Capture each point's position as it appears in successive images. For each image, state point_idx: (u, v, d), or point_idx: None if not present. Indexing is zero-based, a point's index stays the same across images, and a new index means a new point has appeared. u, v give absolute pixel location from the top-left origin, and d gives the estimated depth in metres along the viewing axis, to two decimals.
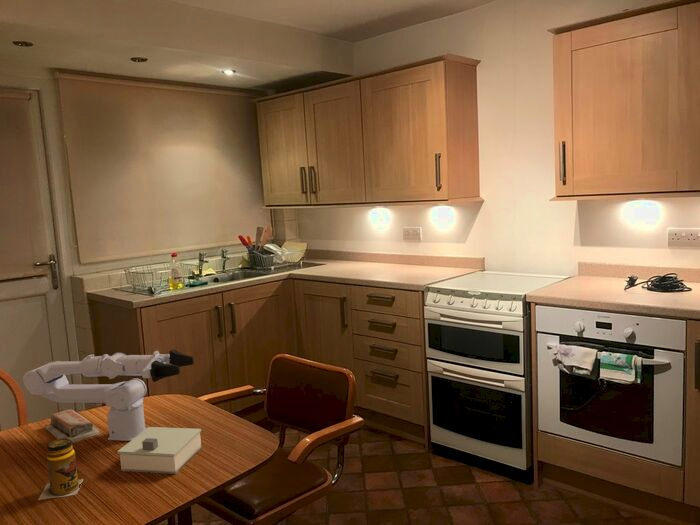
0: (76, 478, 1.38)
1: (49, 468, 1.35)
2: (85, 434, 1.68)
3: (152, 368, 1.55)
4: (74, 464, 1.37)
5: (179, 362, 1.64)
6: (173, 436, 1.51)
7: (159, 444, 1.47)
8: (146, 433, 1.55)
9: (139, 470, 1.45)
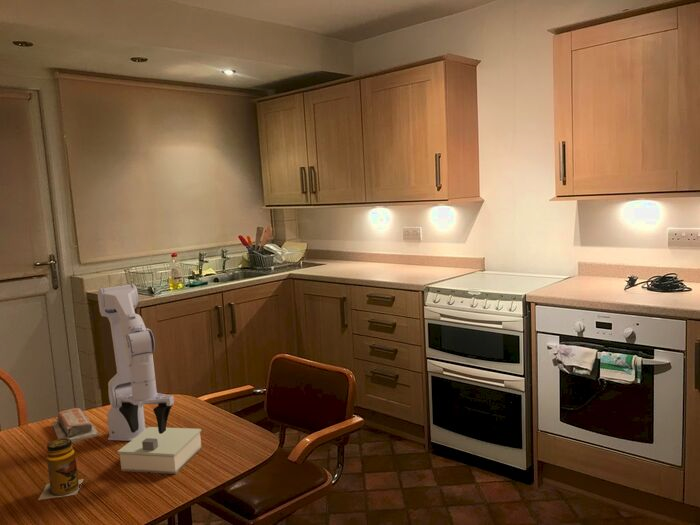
0: (76, 478, 1.38)
1: (49, 468, 1.35)
2: (83, 435, 1.67)
3: None
4: (74, 464, 1.37)
5: None
6: (173, 436, 1.51)
7: (159, 444, 1.47)
8: (146, 433, 1.55)
9: (139, 470, 1.45)
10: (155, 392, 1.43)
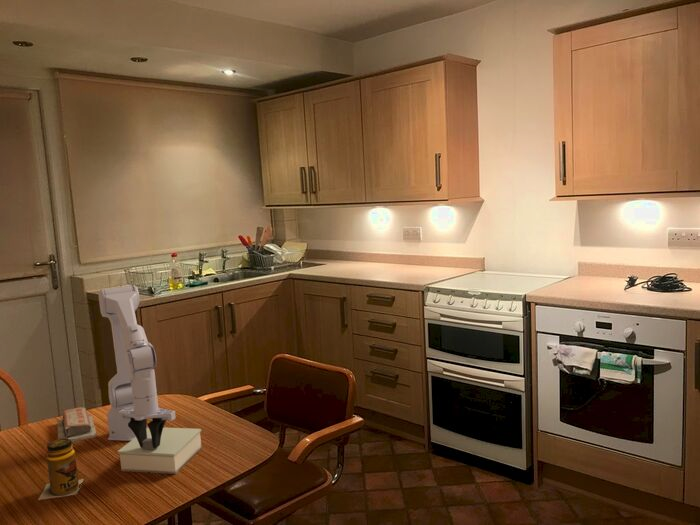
0: (76, 478, 1.38)
1: (49, 468, 1.35)
2: (81, 436, 1.66)
3: None
4: (74, 464, 1.37)
5: None
6: (173, 436, 1.51)
7: None
8: None
9: (139, 470, 1.45)
10: (157, 407, 1.44)
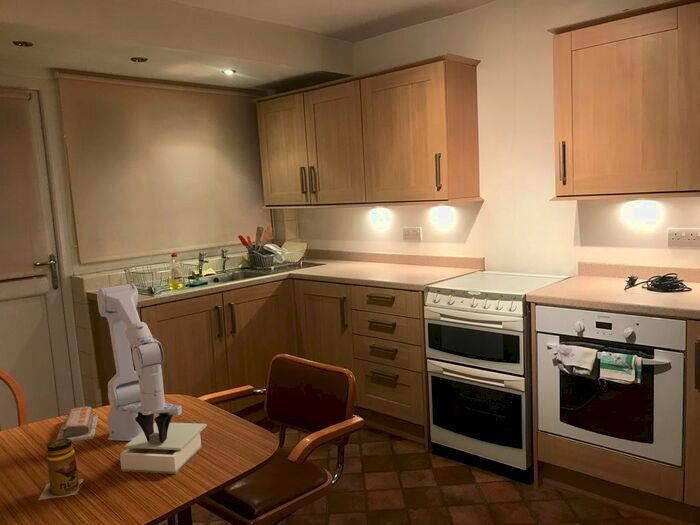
0: (76, 478, 1.38)
1: (49, 468, 1.35)
2: (78, 437, 1.66)
3: None
4: (74, 464, 1.37)
5: None
6: (179, 431, 1.55)
7: None
8: None
9: (139, 470, 1.45)
10: (163, 402, 1.47)
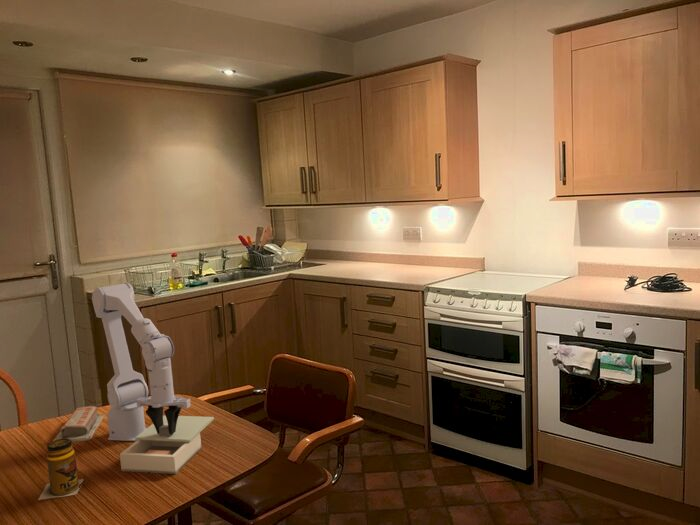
0: (76, 478, 1.38)
1: (49, 468, 1.35)
2: (75, 437, 1.66)
3: None
4: (74, 464, 1.37)
5: None
6: (188, 424, 1.59)
7: None
8: None
9: (139, 470, 1.45)
10: (173, 395, 1.51)
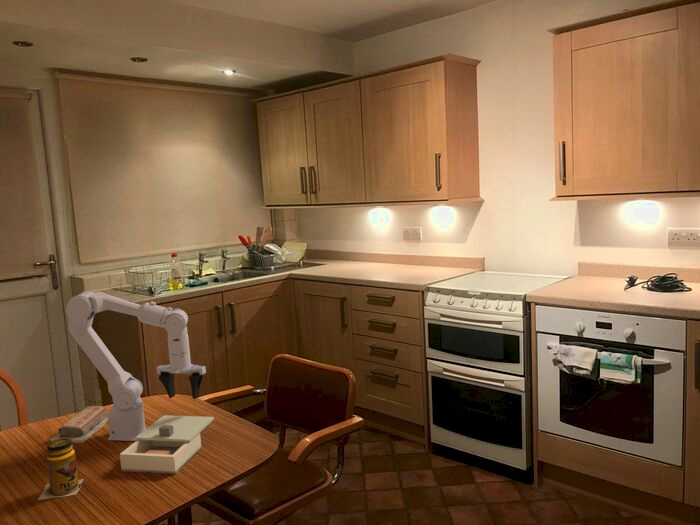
0: (76, 478, 1.38)
1: (49, 468, 1.35)
2: (71, 438, 1.65)
3: None
4: (74, 464, 1.37)
5: None
6: (188, 424, 1.59)
7: (174, 431, 1.55)
8: (161, 421, 1.62)
9: (139, 470, 1.45)
10: (189, 363, 1.66)
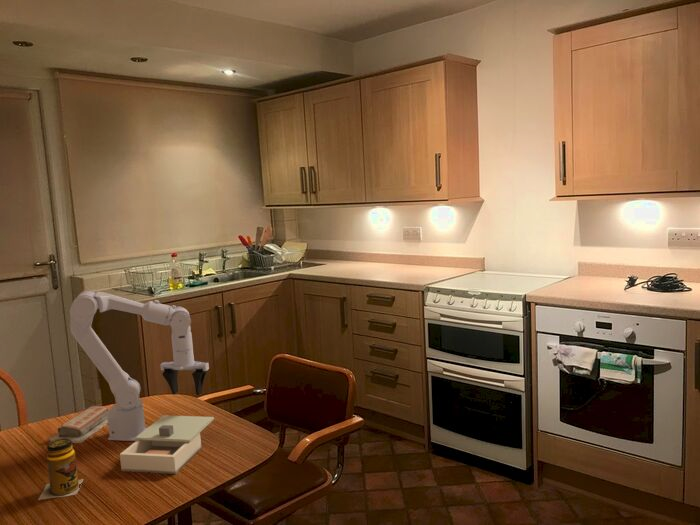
0: (76, 478, 1.38)
1: (49, 468, 1.35)
2: (69, 438, 1.65)
3: None
4: (74, 464, 1.37)
5: None
6: (188, 424, 1.59)
7: (174, 431, 1.55)
8: (161, 421, 1.62)
9: (139, 470, 1.45)
10: (193, 360, 1.69)
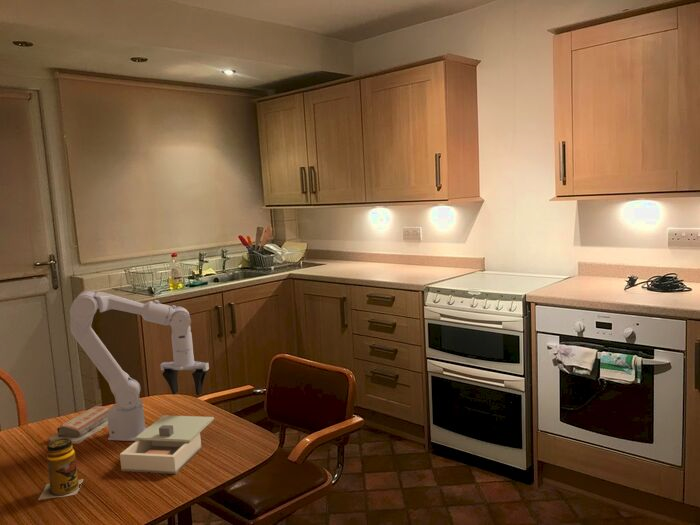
0: (76, 478, 1.38)
1: (49, 468, 1.35)
2: (68, 438, 1.65)
3: None
4: (74, 464, 1.37)
5: None
6: (188, 424, 1.59)
7: (174, 431, 1.55)
8: (161, 421, 1.62)
9: (139, 470, 1.45)
10: (193, 360, 1.69)
